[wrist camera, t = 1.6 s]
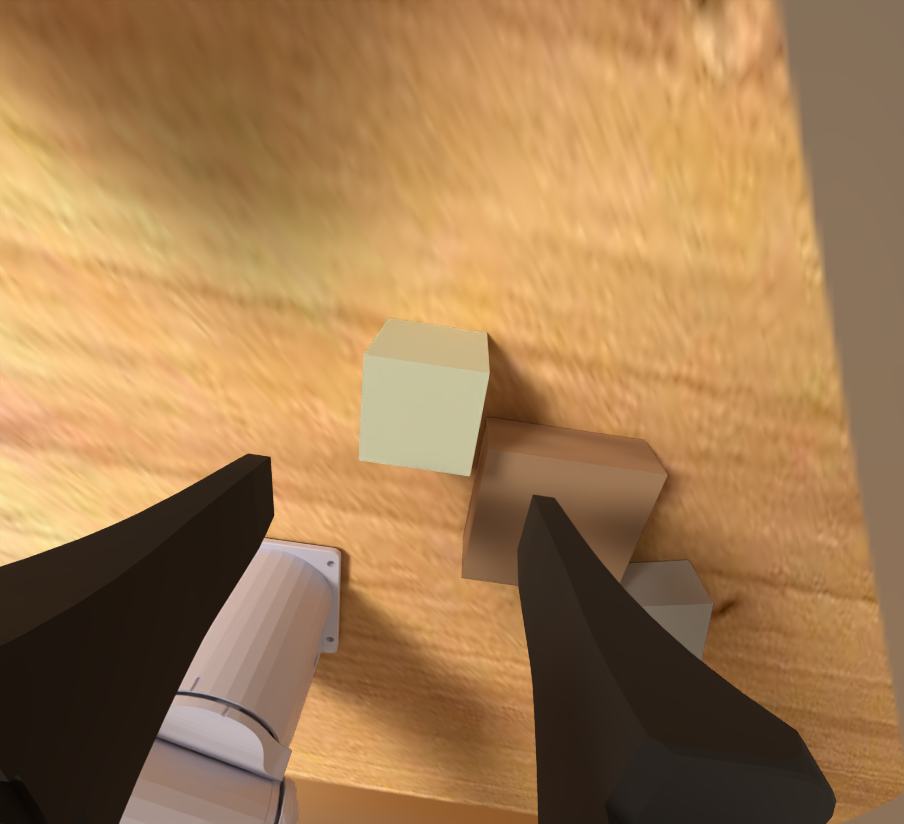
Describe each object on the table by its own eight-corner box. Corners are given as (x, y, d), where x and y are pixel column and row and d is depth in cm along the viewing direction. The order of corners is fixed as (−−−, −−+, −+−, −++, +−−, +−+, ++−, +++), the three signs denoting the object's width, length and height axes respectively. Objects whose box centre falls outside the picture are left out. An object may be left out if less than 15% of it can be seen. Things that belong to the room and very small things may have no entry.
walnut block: (598, 556, 26) (612, 599, 23) (463, 537, 26) (461, 577, 23) (644, 440, 22) (667, 474, 19) (486, 417, 22) (488, 448, 19)
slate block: (677, 628, 28) (698, 675, 26) (582, 632, 29) (592, 677, 26) (688, 560, 25) (713, 603, 23) (582, 565, 26) (595, 608, 23)
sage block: (471, 418, 22) (469, 476, 18) (382, 405, 22) (358, 460, 18) (487, 331, 20) (489, 373, 16) (388, 317, 20) (363, 354, 16)
